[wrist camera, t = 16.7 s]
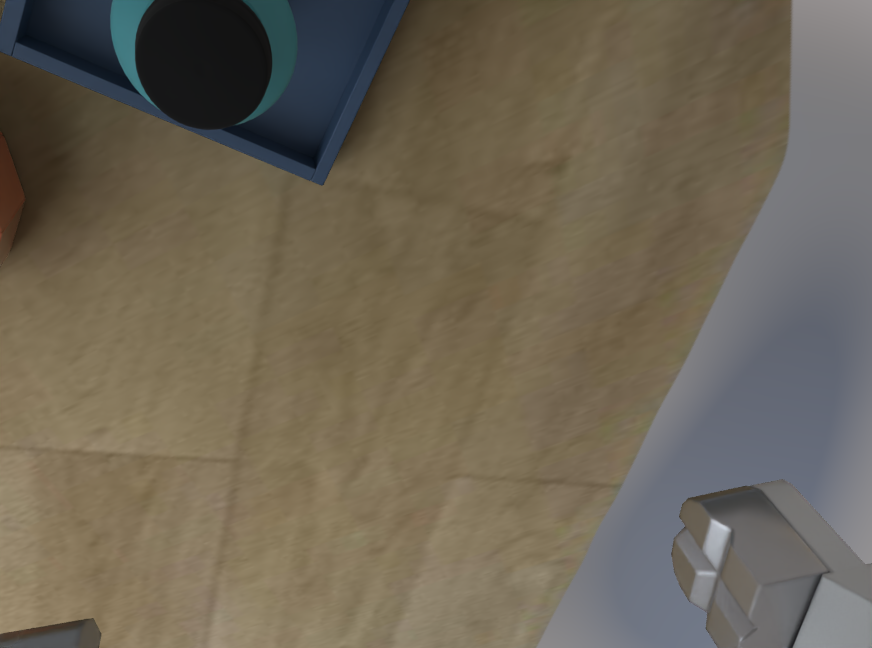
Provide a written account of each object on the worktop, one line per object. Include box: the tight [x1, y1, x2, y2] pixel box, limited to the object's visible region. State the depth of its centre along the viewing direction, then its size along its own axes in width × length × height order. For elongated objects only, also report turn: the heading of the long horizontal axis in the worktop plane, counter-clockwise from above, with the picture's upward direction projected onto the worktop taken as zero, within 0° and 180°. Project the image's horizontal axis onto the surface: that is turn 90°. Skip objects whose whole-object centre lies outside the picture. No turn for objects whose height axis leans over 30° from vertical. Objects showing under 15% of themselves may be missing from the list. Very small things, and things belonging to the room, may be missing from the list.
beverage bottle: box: [110, 0, 298, 130], centre depth 29 cm, size 6×7×20 cm
